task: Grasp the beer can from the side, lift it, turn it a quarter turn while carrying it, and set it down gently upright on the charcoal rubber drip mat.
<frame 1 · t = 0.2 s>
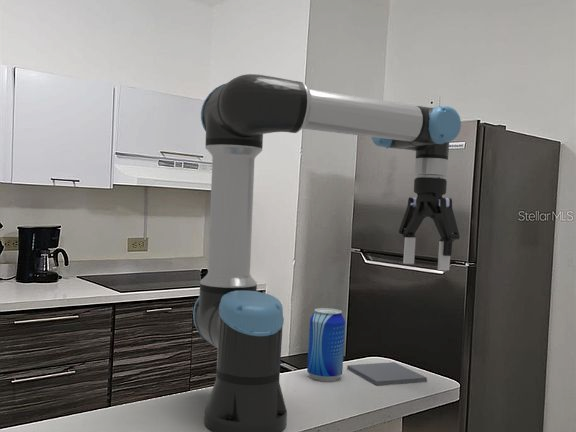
hand: (425, 267, 139), 28 cm above the countertop, fingers open, 13 cm apart
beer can: (324, 378, 140), on the countertop
drip mat: (385, 375, 145), on the countertop
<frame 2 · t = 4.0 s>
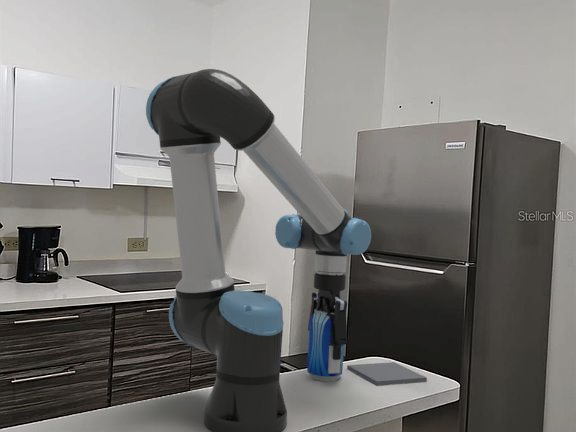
hand: (324, 367, 140), 2 cm above the countertop, fingers closed on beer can, 8 cm apart
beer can: (324, 378, 140), on the countertop, touching gripper
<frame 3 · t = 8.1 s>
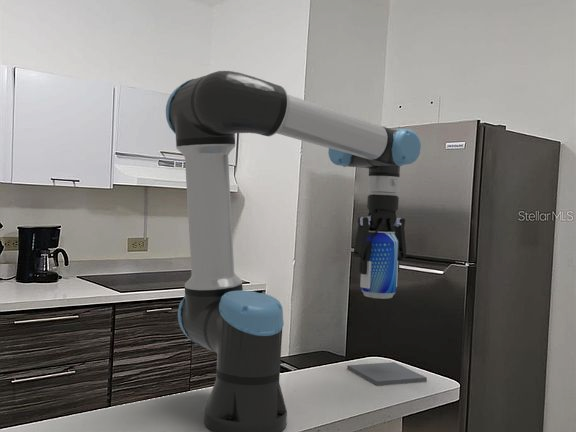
hand: (378, 286, 144), 22 cm above the countertop, fingers closed on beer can, 8 cm apart
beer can: (378, 297, 144), point 19 cm above the countertop, touching gripper
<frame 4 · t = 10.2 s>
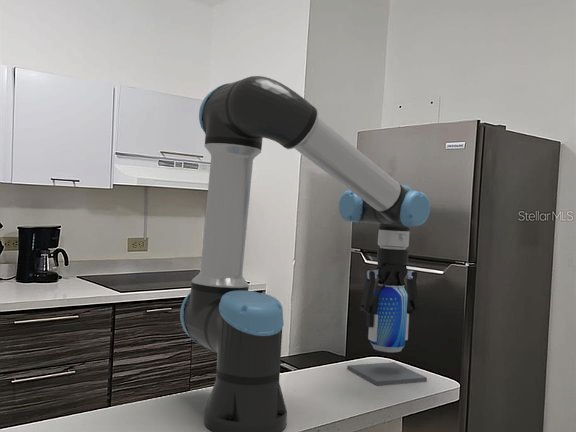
hand: (387, 339, 145), 9 cm above the countertop, fingers closed on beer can, 8 cm apart
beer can: (387, 349, 145), point 6 cm above the countertop, touching gripper
when the fingers open (4 cm above the countertop, at t = 11.9 s): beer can stays where it is, resting on drip mat.
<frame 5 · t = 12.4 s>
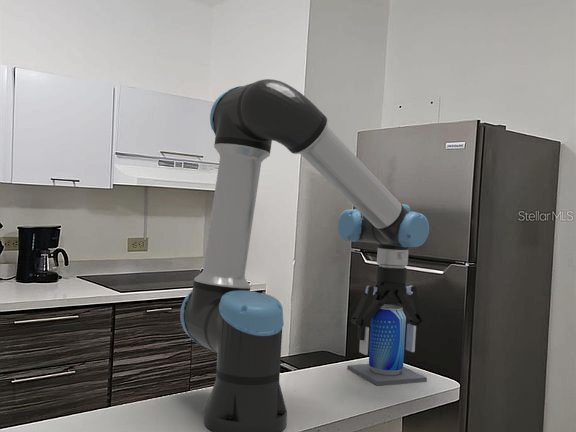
hand: (387, 352, 145), 6 cm above the countertop, fingers open, 13 cm apart
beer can: (385, 372, 145), point 1 cm above the countertop, touching drip mat
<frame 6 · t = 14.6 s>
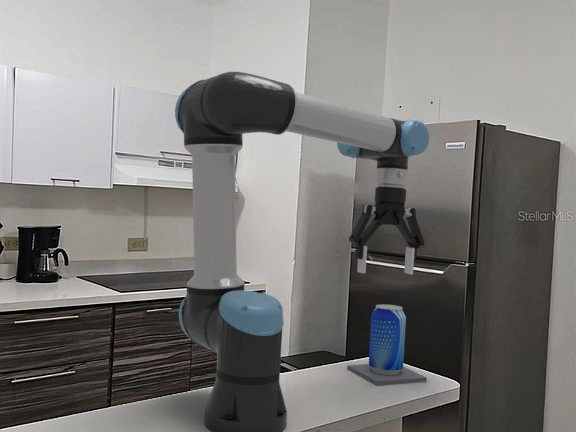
hand: (385, 273, 144), 25 cm above the countertop, fingers open, 13 cm apart
nothing on the countertop moved.
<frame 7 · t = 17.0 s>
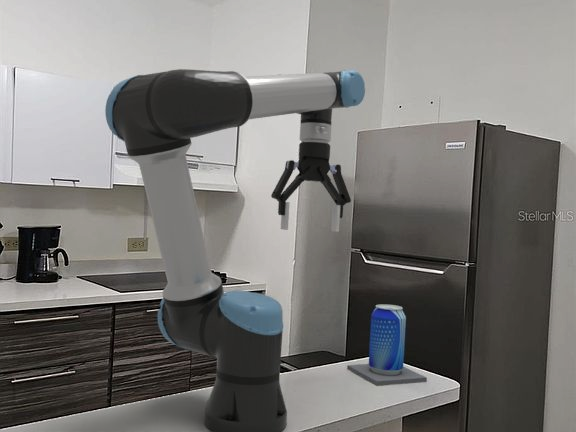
hand: (310, 230, 142), 35 cm above the countertop, fingers open, 13 cm apart
nothing on the countertop moved.
at the end: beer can inside the target area on the drip mat (0.2 cm from its centre), point 0.8 cm above the drip mat's base; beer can tilted 0°; the gripper is holding nothing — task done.
